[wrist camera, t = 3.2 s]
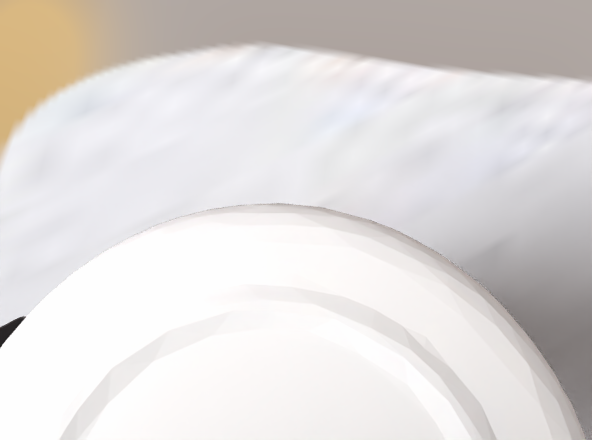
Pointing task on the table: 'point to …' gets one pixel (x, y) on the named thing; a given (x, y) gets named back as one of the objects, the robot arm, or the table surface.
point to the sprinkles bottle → (275, 341)
